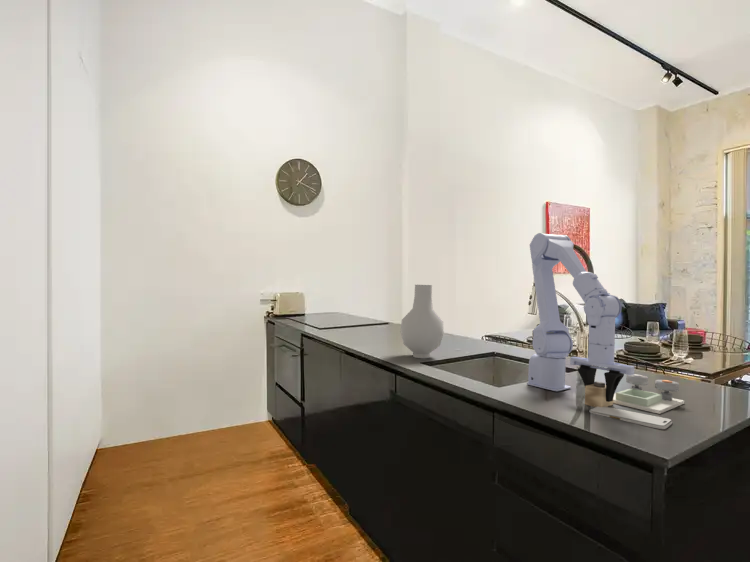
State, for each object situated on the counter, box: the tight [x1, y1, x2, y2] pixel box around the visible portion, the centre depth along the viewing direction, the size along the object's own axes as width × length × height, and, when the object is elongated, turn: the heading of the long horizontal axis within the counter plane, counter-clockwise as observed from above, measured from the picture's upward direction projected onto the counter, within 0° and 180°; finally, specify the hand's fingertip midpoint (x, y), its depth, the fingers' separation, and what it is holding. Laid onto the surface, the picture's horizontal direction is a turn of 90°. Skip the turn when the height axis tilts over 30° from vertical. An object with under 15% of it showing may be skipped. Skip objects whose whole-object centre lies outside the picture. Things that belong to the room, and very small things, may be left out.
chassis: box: [613, 373, 685, 415], centre depth 107 cm, size 13×16×6 cm
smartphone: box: [589, 406, 673, 430], centre depth 94 cm, size 7×1×15 cm
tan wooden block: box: [584, 381, 614, 408], centre depth 104 cm, size 4×6×5 cm, turn 127°
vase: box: [400, 284, 445, 359], centre depth 163 cm, size 17×16×28 cm
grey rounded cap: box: [654, 379, 680, 393], centre depth 108 cm, size 5×5×3 cm
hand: (599, 398), depth 104 cm, fingers closed on tan wooden block, 4 cm apart
